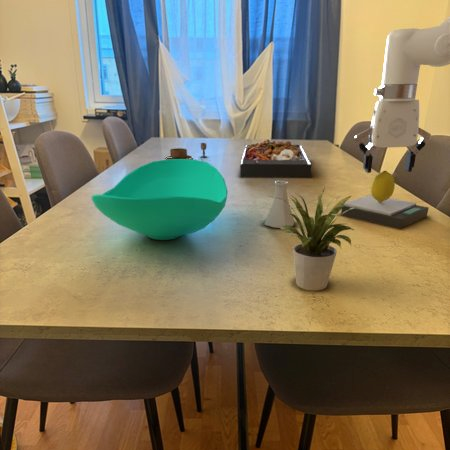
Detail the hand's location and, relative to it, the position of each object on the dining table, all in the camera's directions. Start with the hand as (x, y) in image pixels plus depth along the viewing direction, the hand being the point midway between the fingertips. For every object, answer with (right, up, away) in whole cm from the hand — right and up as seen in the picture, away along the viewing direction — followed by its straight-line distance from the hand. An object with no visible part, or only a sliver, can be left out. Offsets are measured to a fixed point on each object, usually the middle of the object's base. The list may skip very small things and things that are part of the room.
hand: (387, 171), depth 105 cm
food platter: (-20, +22, +66) cm, 73 cm away
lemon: (0, -7, +4) cm, 8 cm away
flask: (-27, -13, -1) cm, 30 cm away
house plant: (-26, -29, -31) cm, 50 cm away
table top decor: (-53, -17, -7) cm, 56 cm away
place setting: (-55, +27, +77) cm, 99 cm away
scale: (0, -10, +5) cm, 11 cm away
